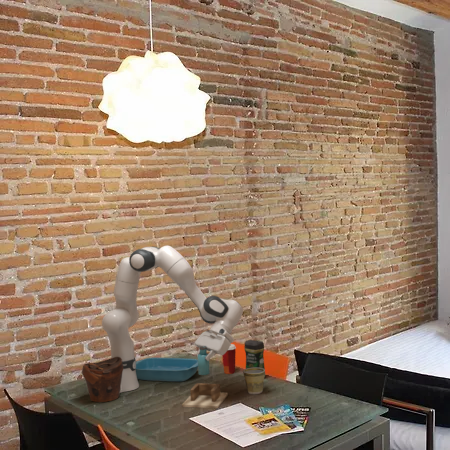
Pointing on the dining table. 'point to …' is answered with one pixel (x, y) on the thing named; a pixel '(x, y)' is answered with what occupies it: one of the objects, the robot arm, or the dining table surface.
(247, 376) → the ceramic cup
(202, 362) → the teal bottle
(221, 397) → the bottle stand
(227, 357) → the paper cup
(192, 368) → the casserole dish
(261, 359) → the coffee jar
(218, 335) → the robot arm
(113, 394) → the case
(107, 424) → the dining table surface
